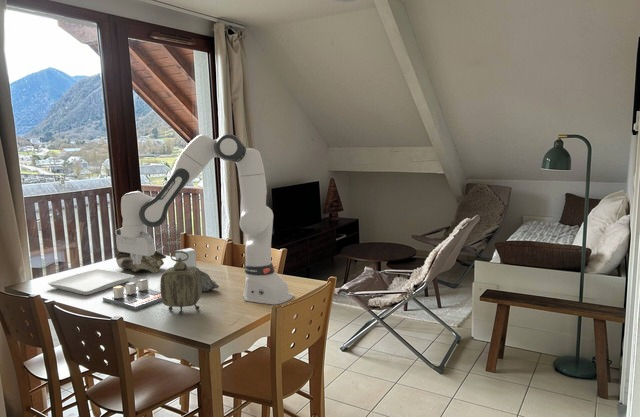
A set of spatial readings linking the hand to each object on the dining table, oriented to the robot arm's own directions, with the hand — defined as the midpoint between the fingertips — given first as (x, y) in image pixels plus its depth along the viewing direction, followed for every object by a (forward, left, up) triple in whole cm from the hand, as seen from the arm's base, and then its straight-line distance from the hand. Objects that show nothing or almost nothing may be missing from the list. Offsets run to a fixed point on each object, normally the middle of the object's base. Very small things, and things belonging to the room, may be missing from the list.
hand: (137, 264), depth 199 cm
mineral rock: (-10, -25, -18) cm, 32 cm away
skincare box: (+11, -35, -17) cm, 41 cm away
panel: (+6, -3, -17) cm, 18 cm away
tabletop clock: (-23, -2, -17) cm, 29 cm away
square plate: (+42, -5, -18) cm, 46 cm away
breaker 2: (+10, -9, -15) cm, 20 cm away
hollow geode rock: (+46, -34, -18) cm, 60 cm away
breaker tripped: (+10, +3, -15) cm, 18 cm away
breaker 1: (+10, -3, -15) cm, 18 cm away
